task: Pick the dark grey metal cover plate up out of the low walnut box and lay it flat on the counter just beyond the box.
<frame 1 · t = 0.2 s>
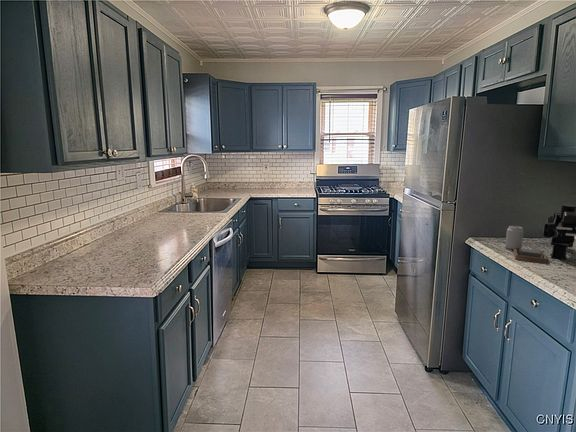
hand: (571, 236, 157), 16 cm above the worktop, tool horizontal, fingers open, 9 cm apart
can: (512, 249, 197), on the worktop
cover plate: (529, 257, 183), resting in walnut box
walnut box: (529, 257, 182), on the worktop
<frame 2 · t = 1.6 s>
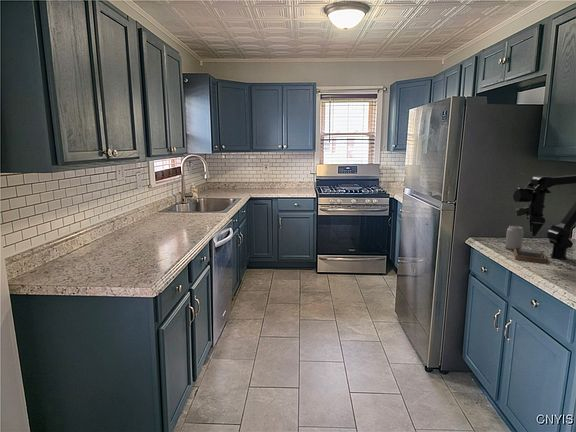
hand: (532, 233, 180), 12 cm above the worktop, tool pointing down, fingers open, 9 cm apart
nothing on the worktop moved.
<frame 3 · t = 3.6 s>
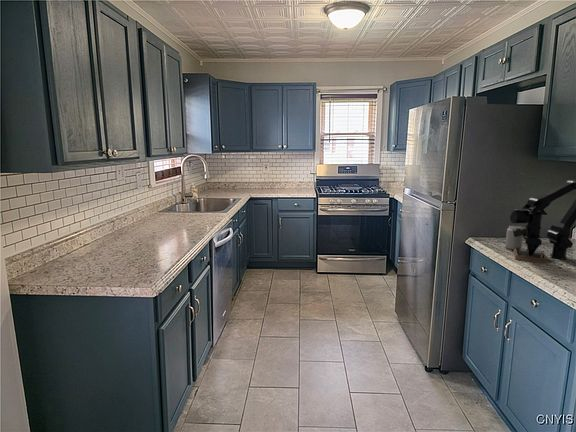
hand: (529, 254, 182), 2 cm above the worktop, tool pointing down, fingers closed on cover plate, 5 cm apart
cover plate: (529, 257, 182), resting in walnut box, touching gripper
everything else where it was.
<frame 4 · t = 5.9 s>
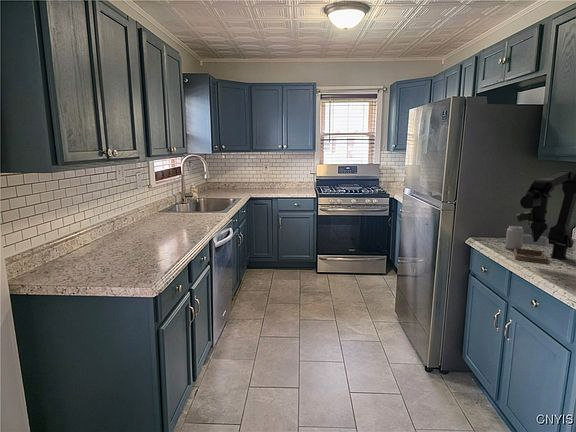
hand: (534, 240, 170), 11 cm above the worktop, tool pointing down, fingers closed on cover plate, 5 cm apart
cover plate: (533, 243, 171), point 10 cm above the worktop, touching gripper
everything else where it was.
when the fingers open (3 cm above the worktop, at t = 8.3 s): cover plate drops 2 cm, on the worktop.
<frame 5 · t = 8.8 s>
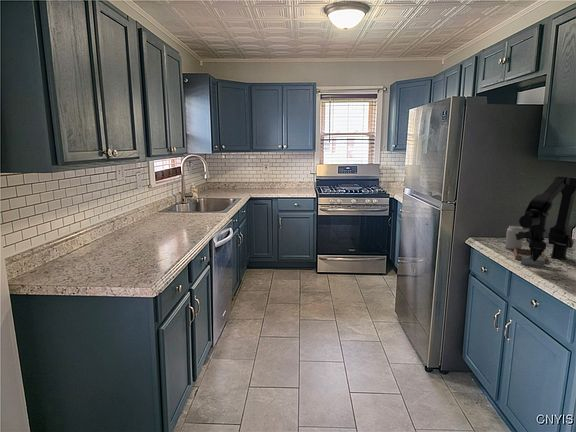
hand: (533, 258, 171), 3 cm above the worktop, tool pointing down, fingers open, 9 cm apart
cover plate: (532, 265, 172), on the worktop
everything else where it was.
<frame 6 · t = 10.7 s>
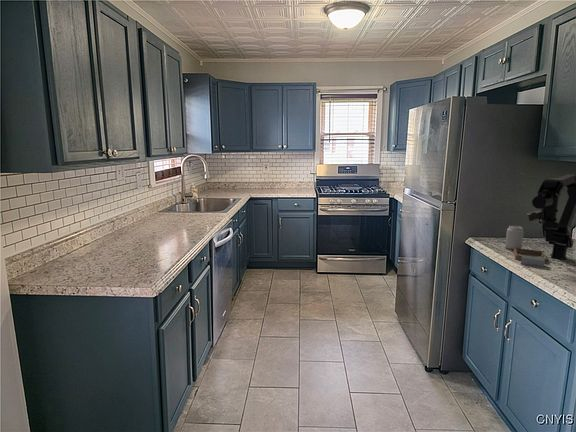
hand: (545, 238, 173), 11 cm above the worktop, tool pointing down, fingers open, 9 cm apart
nothing on the worktop moved.
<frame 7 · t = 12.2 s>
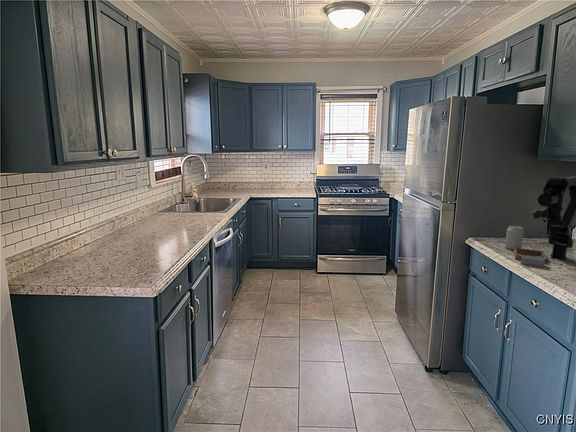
hand: (550, 236, 174), 12 cm above the worktop, tool pointing down, fingers open, 9 cm apart
nothing on the worktop moved.
at the end: cover plate inside the target area (0.4 cm from its centre), on the worktop; cover plate tilted 0°; the gripper is holding nothing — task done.
